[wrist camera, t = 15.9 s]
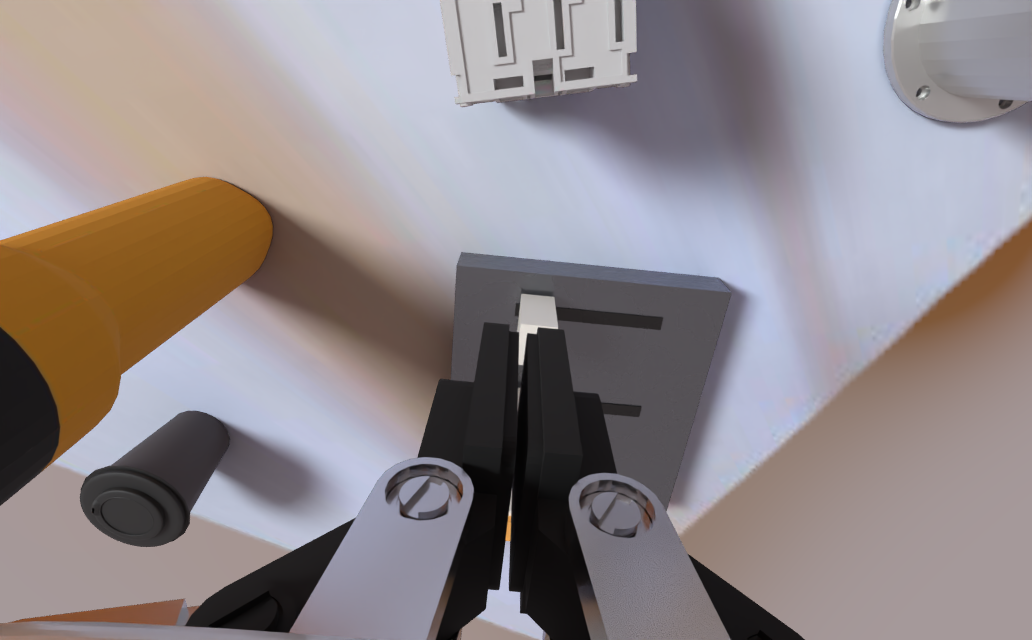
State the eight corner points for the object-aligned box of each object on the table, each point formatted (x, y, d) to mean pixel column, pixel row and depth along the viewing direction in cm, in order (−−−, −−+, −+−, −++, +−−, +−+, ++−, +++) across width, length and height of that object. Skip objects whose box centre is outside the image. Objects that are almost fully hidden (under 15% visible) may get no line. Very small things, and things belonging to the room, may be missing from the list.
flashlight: (-14, 411, 16) (-49, 603, 19) (310, 206, 39) (265, 311, 43) (-431, 243, 13) (-379, 495, 17) (176, 133, 37) (142, 250, 41)
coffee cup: (138, 404, 47) (46, 484, 38) (222, 391, 46) (149, 469, 37) (179, 474, 50) (103, 562, 41) (258, 463, 50) (199, 550, 41)
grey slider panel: (717, 277, 41) (732, 293, 38) (657, 491, 50) (665, 516, 47) (461, 252, 40) (456, 265, 37) (449, 473, 50) (444, 497, 47)
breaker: (554, 296, 38) (558, 327, 33) (549, 333, 39) (552, 367, 35) (521, 293, 38) (520, 323, 33) (517, 330, 39) (516, 364, 35)
